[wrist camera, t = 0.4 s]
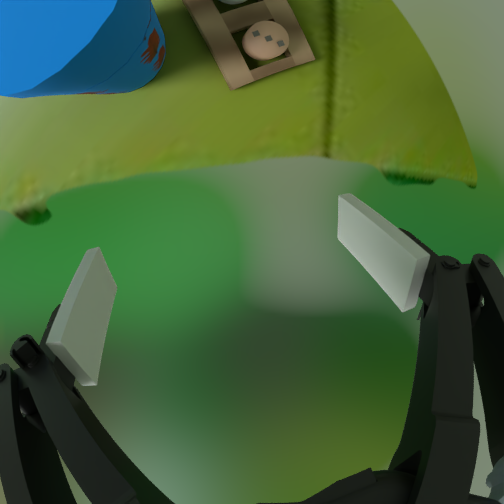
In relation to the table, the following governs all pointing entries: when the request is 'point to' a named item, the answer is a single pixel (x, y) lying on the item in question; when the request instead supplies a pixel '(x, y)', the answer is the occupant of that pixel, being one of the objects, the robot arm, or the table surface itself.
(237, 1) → the button two
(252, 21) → the board
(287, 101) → the table surface
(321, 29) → the table surface
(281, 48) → the button three
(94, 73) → the thermos
